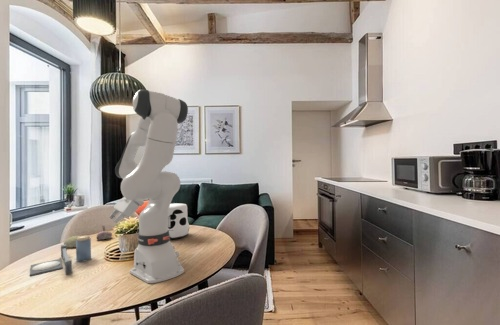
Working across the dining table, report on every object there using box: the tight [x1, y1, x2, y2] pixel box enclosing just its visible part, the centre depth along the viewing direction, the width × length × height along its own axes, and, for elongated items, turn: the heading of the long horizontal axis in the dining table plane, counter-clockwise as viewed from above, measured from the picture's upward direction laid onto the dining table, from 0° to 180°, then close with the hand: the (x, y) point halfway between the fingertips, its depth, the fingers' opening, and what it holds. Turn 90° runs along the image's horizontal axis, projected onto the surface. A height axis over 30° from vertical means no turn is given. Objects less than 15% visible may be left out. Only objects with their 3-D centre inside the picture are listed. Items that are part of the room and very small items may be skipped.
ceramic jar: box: [75, 235, 92, 263], centre depth 112 cm, size 6×6×10 cm
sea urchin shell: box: [63, 235, 81, 249], centre depth 131 cm, size 9×8×8 cm
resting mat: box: [29, 258, 63, 277], centre depth 103 cm, size 12×10×1 cm
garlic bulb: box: [96, 224, 113, 241], centre depth 141 cm, size 8×7×8 cm
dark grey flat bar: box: [60, 244, 73, 276], centre depth 107 cm, size 26×2×5 cm, turn 40°
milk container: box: [168, 202, 190, 240], centre depth 143 cm, size 17×17×18 cm
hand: (112, 220), depth 119 cm, fingers open, 8 cm apart
